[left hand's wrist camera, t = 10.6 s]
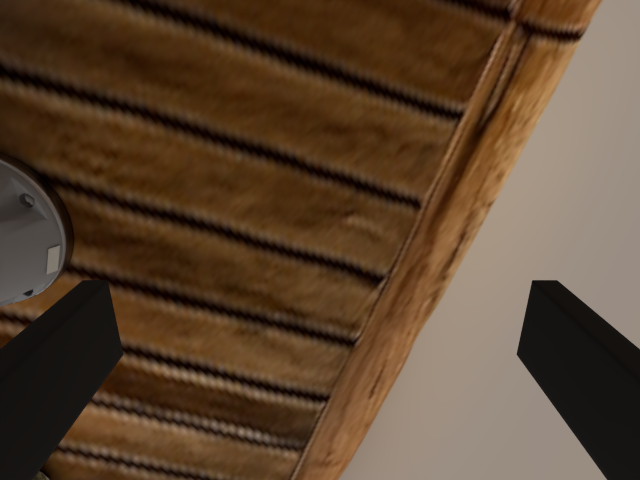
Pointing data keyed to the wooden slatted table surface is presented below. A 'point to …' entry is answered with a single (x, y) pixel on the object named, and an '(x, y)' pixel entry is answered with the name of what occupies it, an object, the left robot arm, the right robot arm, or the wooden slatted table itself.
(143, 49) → the wooden slatted table surface
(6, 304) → the left robot arm
